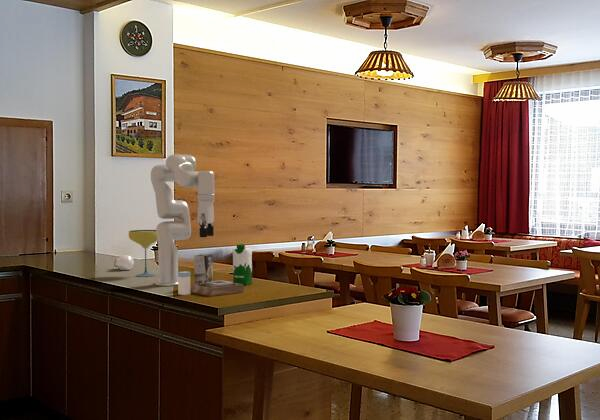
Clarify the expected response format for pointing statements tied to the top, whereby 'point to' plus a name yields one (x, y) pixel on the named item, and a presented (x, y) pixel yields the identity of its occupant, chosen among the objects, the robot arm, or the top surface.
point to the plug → (184, 283)
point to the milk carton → (242, 265)
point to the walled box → (217, 289)
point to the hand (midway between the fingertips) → (206, 236)
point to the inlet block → (218, 284)
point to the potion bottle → (124, 262)
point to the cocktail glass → (144, 243)
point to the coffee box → (203, 268)
